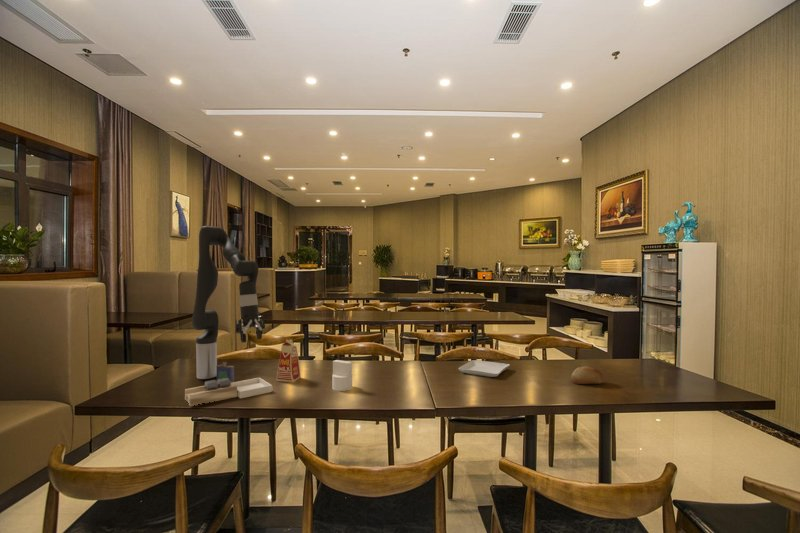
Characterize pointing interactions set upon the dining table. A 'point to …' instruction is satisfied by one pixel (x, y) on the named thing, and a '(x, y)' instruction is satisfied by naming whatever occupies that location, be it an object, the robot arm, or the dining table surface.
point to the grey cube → (211, 385)
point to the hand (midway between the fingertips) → (251, 340)
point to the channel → (209, 394)
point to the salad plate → (483, 368)
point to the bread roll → (587, 375)
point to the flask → (225, 372)
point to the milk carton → (288, 363)
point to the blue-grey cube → (223, 383)
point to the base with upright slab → (342, 375)
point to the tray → (252, 387)
